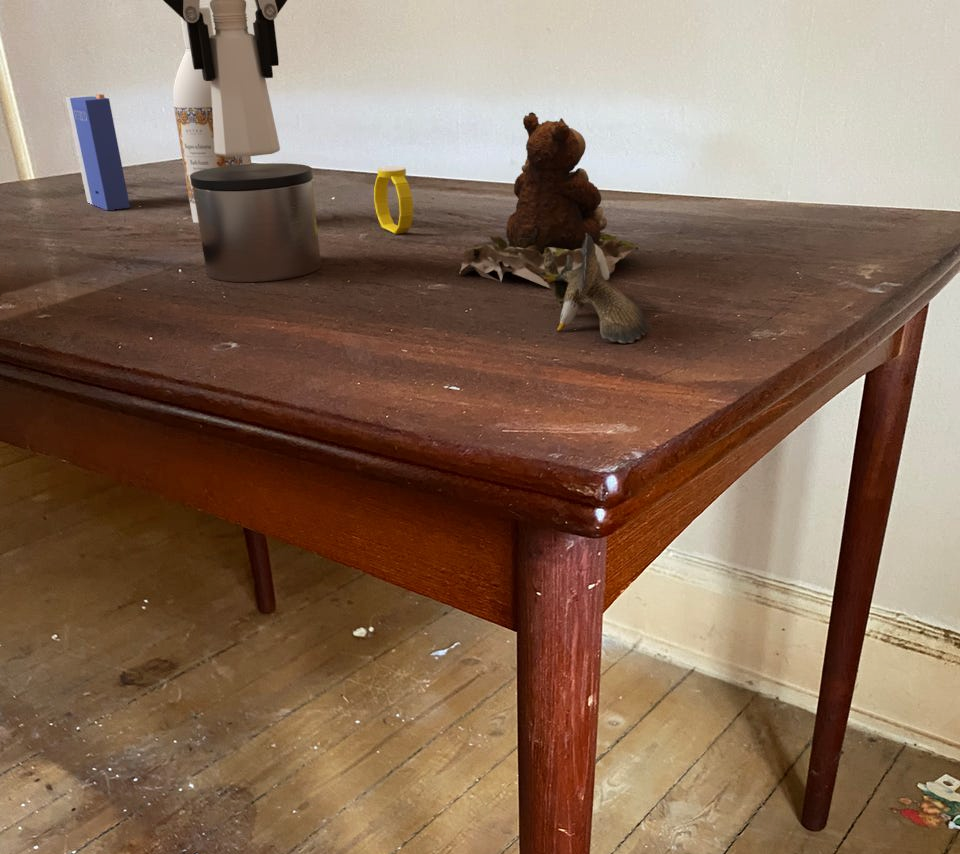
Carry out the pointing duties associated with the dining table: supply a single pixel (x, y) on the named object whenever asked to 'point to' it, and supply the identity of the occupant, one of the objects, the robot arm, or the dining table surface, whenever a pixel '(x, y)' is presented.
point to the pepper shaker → (239, 87)
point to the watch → (403, 194)
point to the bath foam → (197, 118)
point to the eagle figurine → (591, 293)
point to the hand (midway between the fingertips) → (237, 75)
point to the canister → (257, 221)
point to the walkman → (98, 151)
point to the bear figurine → (549, 209)
